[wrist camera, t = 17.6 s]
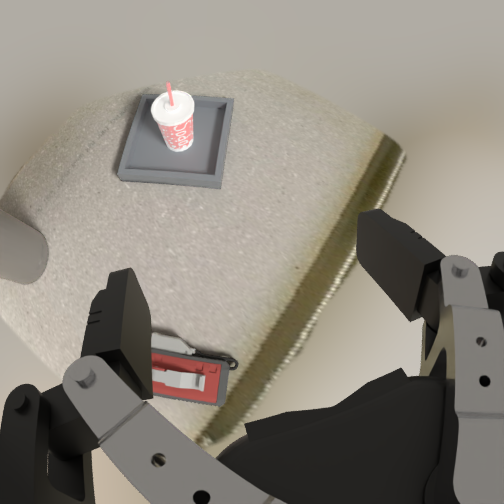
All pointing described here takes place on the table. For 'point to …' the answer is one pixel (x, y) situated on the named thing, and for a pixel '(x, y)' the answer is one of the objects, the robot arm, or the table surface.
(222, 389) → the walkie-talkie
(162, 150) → the tray
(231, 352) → the table surface
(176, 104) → the beverage cup
